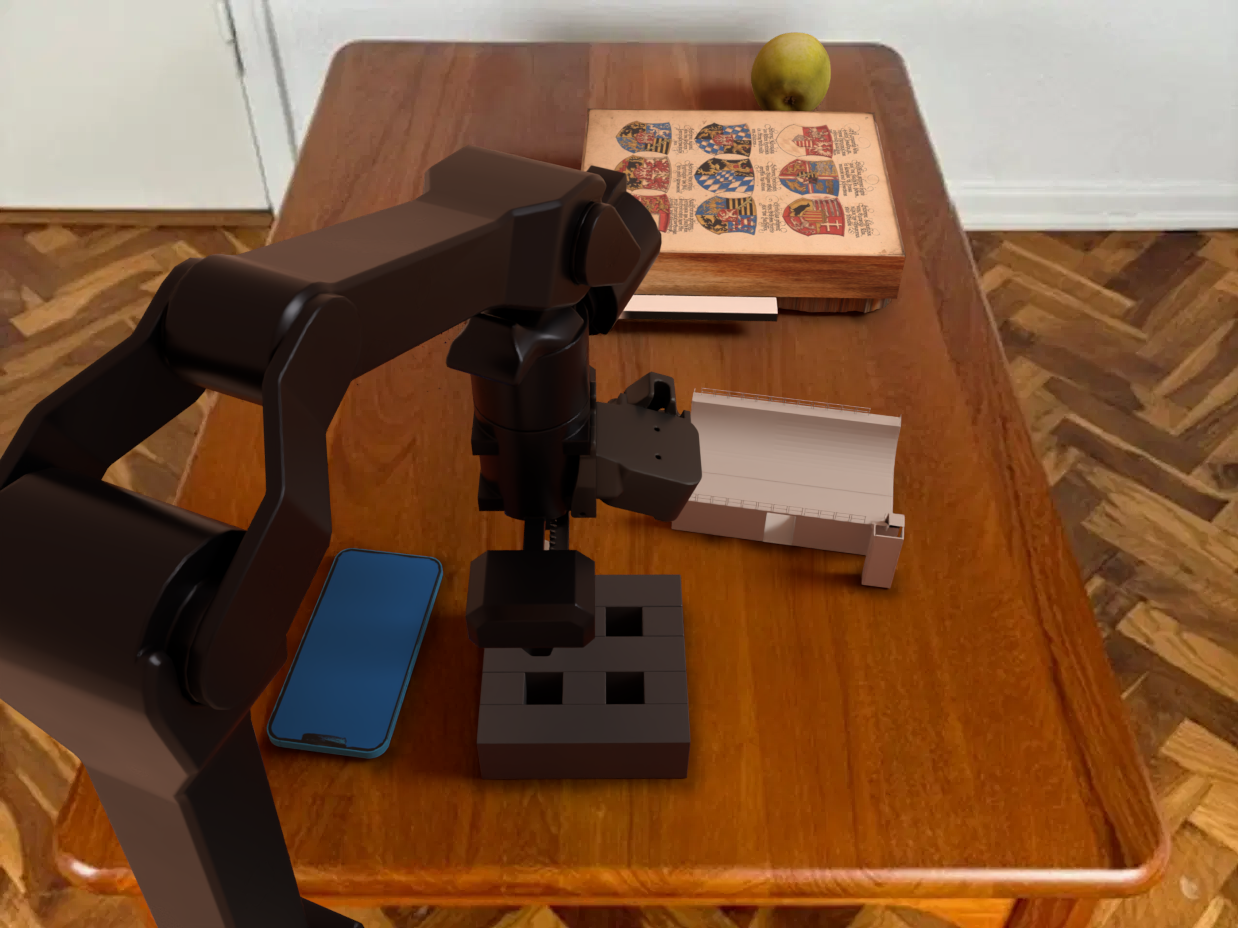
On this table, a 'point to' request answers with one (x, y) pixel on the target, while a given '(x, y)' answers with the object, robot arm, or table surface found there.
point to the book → (755, 210)
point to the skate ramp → (797, 478)
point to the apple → (791, 73)
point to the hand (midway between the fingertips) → (543, 588)
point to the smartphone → (357, 654)
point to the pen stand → (594, 694)
